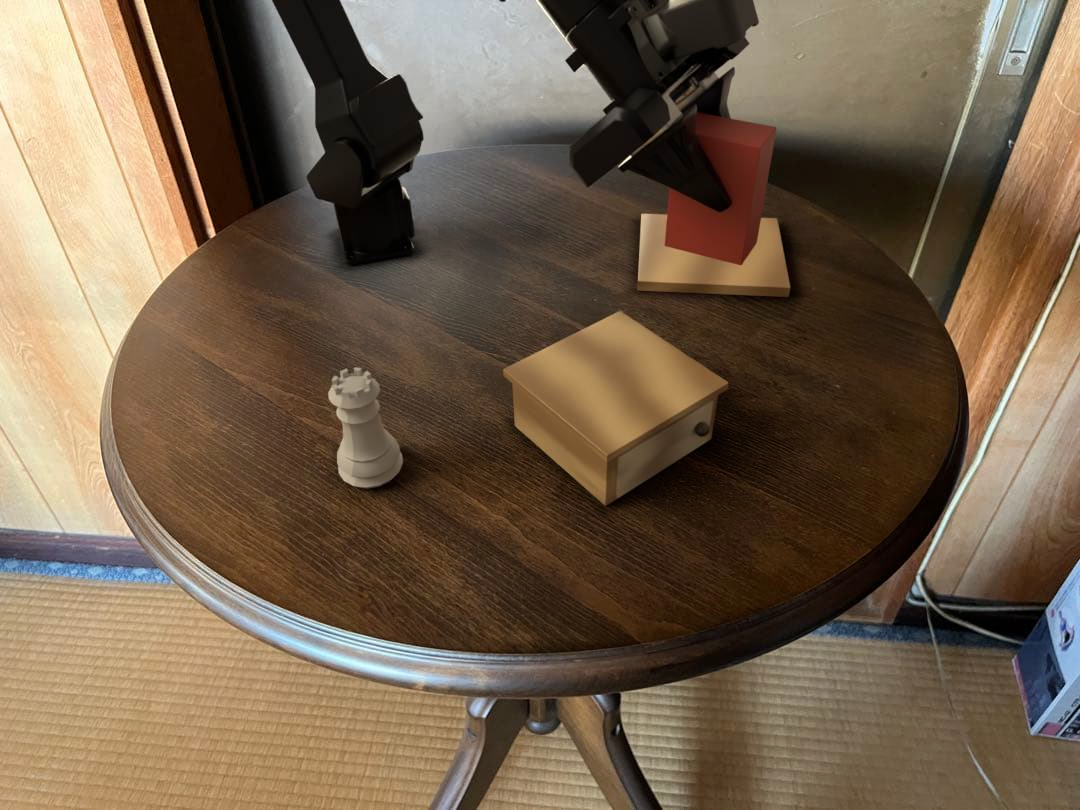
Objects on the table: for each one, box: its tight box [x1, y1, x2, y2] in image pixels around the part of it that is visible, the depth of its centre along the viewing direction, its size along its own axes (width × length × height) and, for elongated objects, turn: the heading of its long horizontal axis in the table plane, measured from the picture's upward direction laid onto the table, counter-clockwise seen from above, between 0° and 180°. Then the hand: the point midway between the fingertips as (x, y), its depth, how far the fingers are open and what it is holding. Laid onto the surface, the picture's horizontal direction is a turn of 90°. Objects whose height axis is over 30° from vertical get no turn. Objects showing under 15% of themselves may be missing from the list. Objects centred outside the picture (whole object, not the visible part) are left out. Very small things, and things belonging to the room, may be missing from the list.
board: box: [636, 213, 791, 298], centre depth 77 cm, size 13×12×1 cm
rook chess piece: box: [327, 367, 404, 490], centre depth 55 cm, size 4×4×8 cm
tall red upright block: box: [665, 112, 778, 265], centre depth 59 cm, size 4×6×9 cm, turn 61°
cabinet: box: [502, 310, 730, 507], centre depth 58 cm, size 11×12×5 cm
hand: (735, 196), depth 59 cm, fingers closed on tall red upright block, 3 cm apart
